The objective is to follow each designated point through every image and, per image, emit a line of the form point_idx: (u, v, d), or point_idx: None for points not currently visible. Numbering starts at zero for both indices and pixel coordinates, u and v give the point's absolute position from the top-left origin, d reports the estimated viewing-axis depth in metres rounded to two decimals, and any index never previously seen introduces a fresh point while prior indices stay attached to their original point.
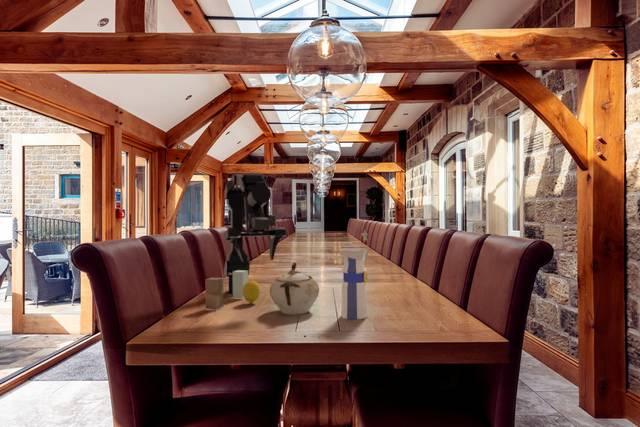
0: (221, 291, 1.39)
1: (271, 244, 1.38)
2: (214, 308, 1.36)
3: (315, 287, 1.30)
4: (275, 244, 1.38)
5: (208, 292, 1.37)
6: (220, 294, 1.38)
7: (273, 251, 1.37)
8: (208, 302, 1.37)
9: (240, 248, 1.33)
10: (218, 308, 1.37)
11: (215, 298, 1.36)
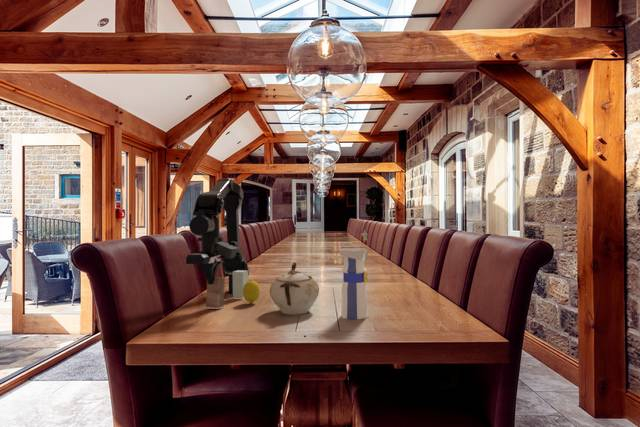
0: (222, 290, 1.39)
1: None
2: (214, 306, 1.36)
3: (315, 287, 1.30)
4: (216, 268, 1.37)
5: (209, 291, 1.38)
6: (221, 293, 1.39)
7: (214, 275, 1.37)
8: (209, 300, 1.37)
9: (212, 272, 1.35)
10: (218, 307, 1.37)
11: (216, 296, 1.37)
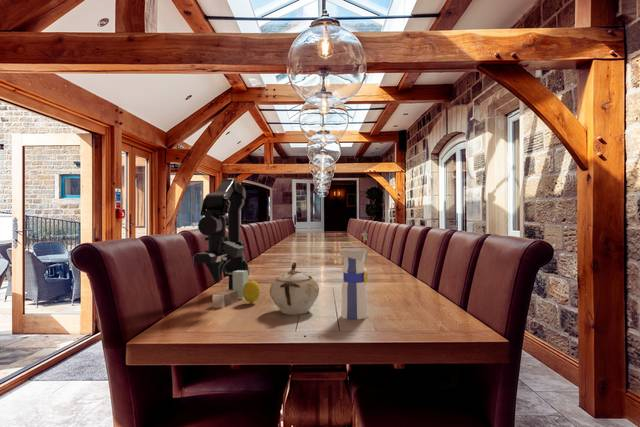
0: (231, 300, 1.45)
1: None
2: (221, 294, 1.41)
3: (315, 287, 1.30)
4: (223, 267, 1.41)
5: (223, 291, 1.46)
6: (230, 299, 1.44)
7: (221, 274, 1.41)
8: (219, 293, 1.43)
9: (219, 270, 1.39)
10: (224, 297, 1.40)
11: (228, 293, 1.44)
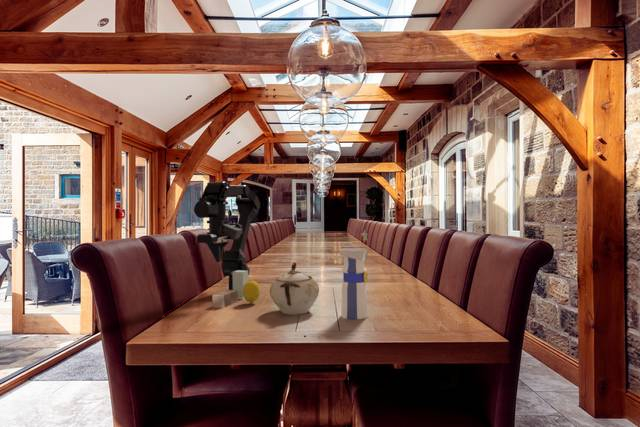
0: (231, 300, 1.45)
1: None
2: (221, 294, 1.41)
3: (315, 287, 1.30)
4: (223, 248, 1.55)
5: (223, 291, 1.46)
6: (230, 299, 1.44)
7: (221, 254, 1.55)
8: (219, 293, 1.43)
9: (219, 251, 1.53)
10: (224, 297, 1.40)
11: (228, 293, 1.44)
